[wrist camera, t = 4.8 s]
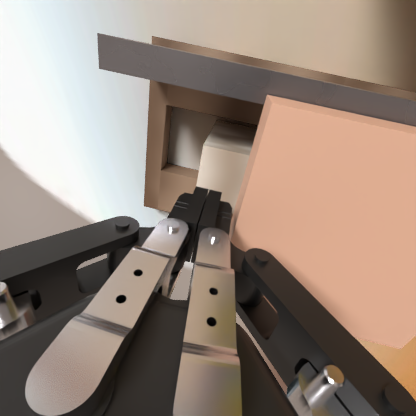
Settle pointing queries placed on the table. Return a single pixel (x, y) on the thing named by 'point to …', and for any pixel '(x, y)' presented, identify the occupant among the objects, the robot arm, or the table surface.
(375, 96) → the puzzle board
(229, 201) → the cream block
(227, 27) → the table surface
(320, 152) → the sliding cover
